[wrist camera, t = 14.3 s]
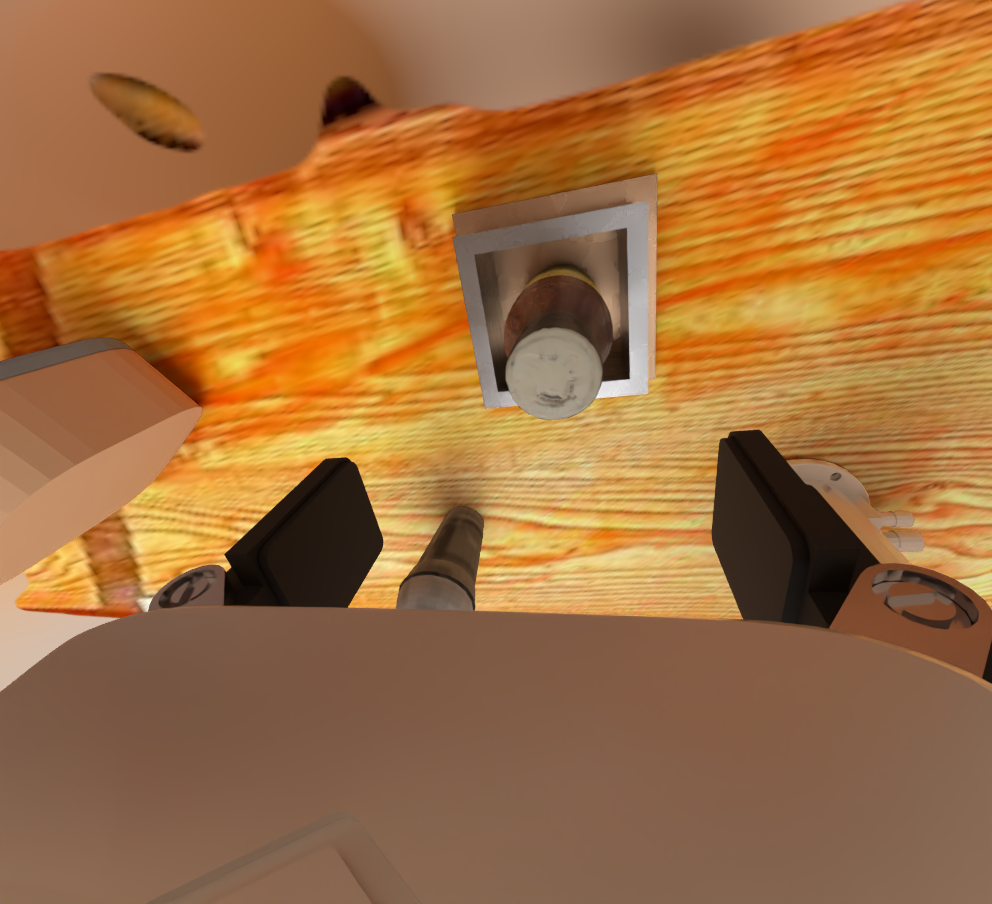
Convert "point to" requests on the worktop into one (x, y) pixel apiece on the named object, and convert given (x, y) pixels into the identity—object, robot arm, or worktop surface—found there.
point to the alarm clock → (79, 442)
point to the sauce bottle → (557, 343)
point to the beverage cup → (446, 566)
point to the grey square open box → (565, 241)
